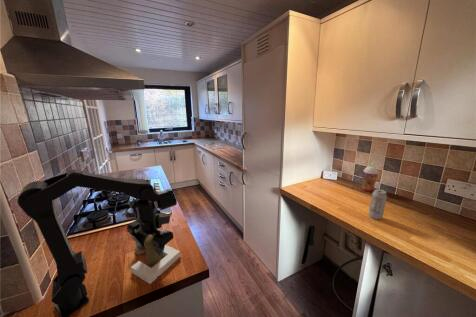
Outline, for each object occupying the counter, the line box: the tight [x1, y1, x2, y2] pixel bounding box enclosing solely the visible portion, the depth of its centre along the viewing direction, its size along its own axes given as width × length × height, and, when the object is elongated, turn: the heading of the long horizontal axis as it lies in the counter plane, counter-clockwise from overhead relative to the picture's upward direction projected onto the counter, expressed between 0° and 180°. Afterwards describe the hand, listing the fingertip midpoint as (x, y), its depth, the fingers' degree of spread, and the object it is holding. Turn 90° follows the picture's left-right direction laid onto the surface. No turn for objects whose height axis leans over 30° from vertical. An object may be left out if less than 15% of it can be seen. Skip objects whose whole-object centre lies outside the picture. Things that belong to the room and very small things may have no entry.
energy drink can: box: [368, 188, 388, 221], centre depth 100 cm, size 6×6×15 cm
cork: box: [144, 235, 164, 268], centre depth 73 cm, size 6×6×11 cm
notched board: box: [130, 244, 181, 285], centre depth 73 cm, size 14×10×2 cm
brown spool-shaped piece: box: [131, 234, 151, 256], centre depth 81 cm, size 7×7×8 cm
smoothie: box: [361, 161, 379, 193], centre depth 131 cm, size 8×8×20 cm
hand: (152, 250), depth 73 cm, fingers open, 9 cm apart
